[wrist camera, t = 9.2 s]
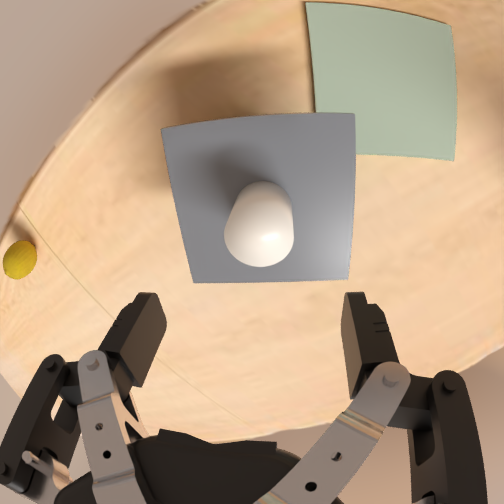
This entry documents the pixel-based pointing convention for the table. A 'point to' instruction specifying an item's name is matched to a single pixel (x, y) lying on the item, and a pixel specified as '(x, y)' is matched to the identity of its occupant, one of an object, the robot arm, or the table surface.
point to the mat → (386, 78)
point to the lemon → (19, 259)
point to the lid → (265, 196)
